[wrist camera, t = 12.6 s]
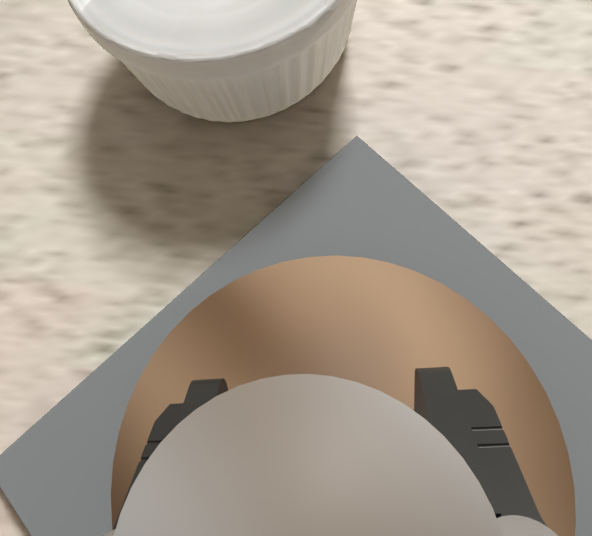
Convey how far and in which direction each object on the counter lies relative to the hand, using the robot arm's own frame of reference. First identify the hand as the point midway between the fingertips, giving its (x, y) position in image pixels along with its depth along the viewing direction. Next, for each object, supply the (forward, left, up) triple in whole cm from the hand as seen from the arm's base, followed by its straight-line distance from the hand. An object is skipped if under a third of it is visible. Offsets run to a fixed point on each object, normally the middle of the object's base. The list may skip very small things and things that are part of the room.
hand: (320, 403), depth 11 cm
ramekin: (+8, +14, -6) cm, 17 cm away
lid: (-1, -1, -4) cm, 4 cm away
